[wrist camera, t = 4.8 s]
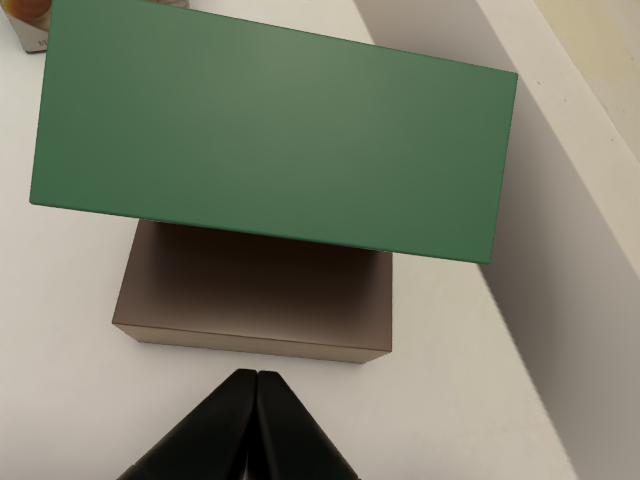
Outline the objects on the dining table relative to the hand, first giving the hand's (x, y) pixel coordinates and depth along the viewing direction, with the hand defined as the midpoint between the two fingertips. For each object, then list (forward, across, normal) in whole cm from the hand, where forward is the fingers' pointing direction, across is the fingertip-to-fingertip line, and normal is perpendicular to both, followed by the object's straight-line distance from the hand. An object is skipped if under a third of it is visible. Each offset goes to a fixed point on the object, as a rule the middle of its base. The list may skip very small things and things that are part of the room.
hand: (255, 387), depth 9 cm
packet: (+14, 0, 0) cm, 14 cm away
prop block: (+10, 0, -4) cm, 11 cm away
